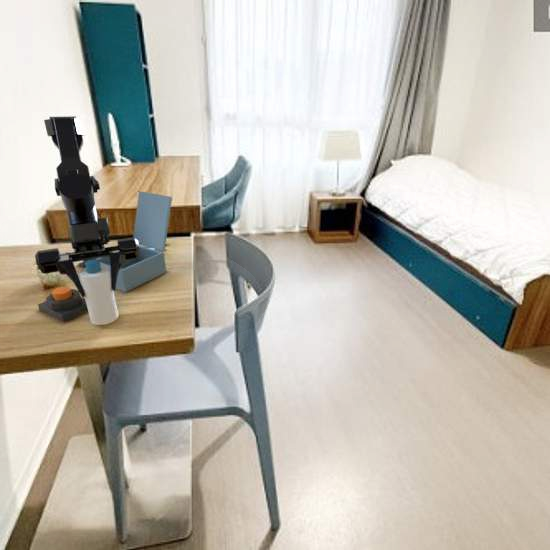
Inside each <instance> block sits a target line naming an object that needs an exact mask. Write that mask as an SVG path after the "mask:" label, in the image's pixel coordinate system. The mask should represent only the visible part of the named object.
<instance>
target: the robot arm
mask: <svg viewBox="0 0 550 550" xmlns="http://www.w3.org/2000/svg"><path fill="white" fill-rule="evenodd" d="M43 122H44V126H45V131H46V134H47V137H51V141H52V143H53V145H54V146H55V147H56V149H57V150H58V152H59V157H60V163H59V164H58V165H57V166H56V168H55V169H56V175H57V178H54V191H55V194H56V196H57V197H60V198H61V201H62V204H63V206H64V208H65V212H66V216H67V222H68V226H69V227H68V228H69V229H68V230H69V233H70V234H69V238H70V245H71V248H72V249H73V251H72V252H60V251H59V248H58V247H56V248H49V249H42V250H38V251H36V253H35V255H34V258H35V264H36V266H37V267H38V269H39V271H40V272H41V274H45V275H46V274H51V273H59V274H60V275H61V276H62V275H66V276H67V277H68V278H69V279H70V280H71V282H72V283H73V285H74V286H75V288H76V290H78V291H79V293H80V297H82V298H85V296H84V291H83V288H82V284H81V280H80V276H79V273H78V272H77V269H76V266H75V263H77V262H79V263H78V264H77V266H78V267H81V268H83V269H84V268H86V267H85V262H86V261H88V260H91V259H97V258H102V257H108V256H110V266H111V282H112V287H113V291H114V292H116V290H117V289H116V283H117V277H118V273H119V270H120V266H121V265H123V264H125V263H126V260H132V259H137V258H139V249H140V248H139V246H140V245H139V244H138V240H137V239H135V238H134V237H133V236H132V237H127V238H121V239H120V238H118V239H116V241H117V242H116V243H117V245H113V246H106V247H105V245H108V243H110V242H111V241H110V240H111V239H110V236H109V235H110V234H111V231H110V226H109V221H108V217H102V218H101V217H100V216H99V215H98V210H97V206H96V199H95V194H96V193H97V194H98V191H99V190H101V186H100V183H99V180H97V179H96V177H95V175H91V173H90V169H89V166H88V165H87V164H86V163H84V162H83V161H82V159H81V150H82V148H83V146H84V139H83V136H86V133H85V127H84V123H83V119H81V118H77V116H74V115H73V116H72V115H71V116H49V118H47V119H44V120H43Z"/></svg>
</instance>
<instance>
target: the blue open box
mask: <svg viewBox="0 0 550 550" xmlns="http://www.w3.org/2000/svg"><path fill="white" fill-rule="evenodd" d="M139 248H140V249H139V258H137V259H132V260H126V263H125V264H123V265H121V266H120V270H119V273H118V277H117V283H116V290H118V291H122V292H125V293H127V292H129V291H131V290H133V289H135V288H137V287H139V286H141V285H142V284H145V283H147V282H149V281H152V280H154V279H156V278H157V277H159V276H161V275H164V274H166V273H167V267H166V259H165V253H164V251H162V252H161V250H160V251H159V250H156V249H155V250H152V249H149V248H148V247H146V246H143V245H139ZM97 259H98V260H99V262H100V265H102V266H107V267H108V268H109V272H110V277H111V266H110V256H108V257H102V258H97Z"/></svg>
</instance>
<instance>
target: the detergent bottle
mask: <svg viewBox="0 0 550 550" xmlns="http://www.w3.org/2000/svg"><path fill="white" fill-rule="evenodd" d="M85 267H86V268H84V267H83V268H82V269H81V270H80V271H79V272H78V277H79V280H80V282H81V285H82V288H83V291H84V296H85V297H84V299H85V300H86V304H87V308H88V310H87V313H88V317H89V320H90V323H91V324H92V325H95V326H104V325H108V324H111V323H113V322H115V321H116V320H118V318H119V311H118V306H117V302H116V297H115V291H113V287H112V282H111V277H110V272H109V268H108V267H107V266H102V265H100V262H99V260H98V259H91V260H88V261H86V262H85Z"/></svg>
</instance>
